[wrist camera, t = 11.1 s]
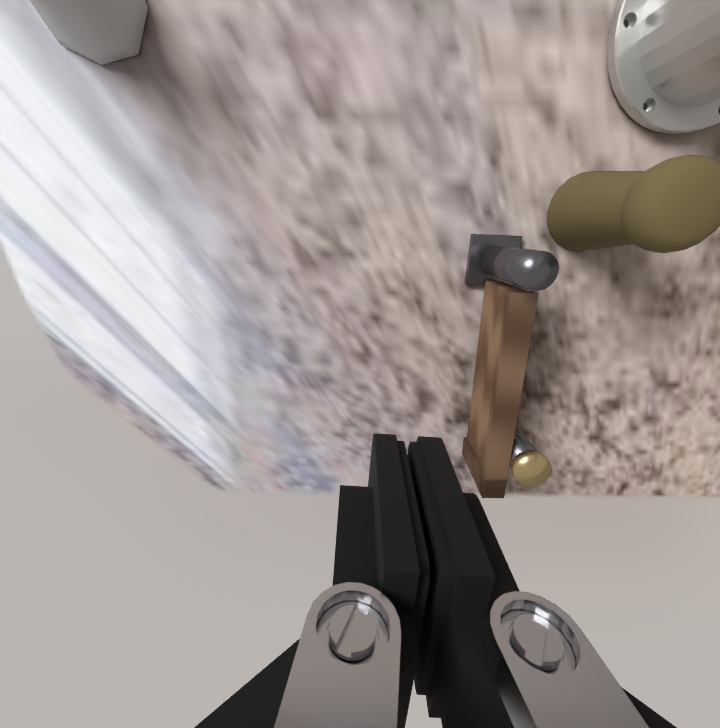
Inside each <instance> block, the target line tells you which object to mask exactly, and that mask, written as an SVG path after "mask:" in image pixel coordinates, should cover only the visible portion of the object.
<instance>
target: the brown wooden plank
mask: <svg viewBox="0 0 720 728" xmlns="http://www.w3.org/2000/svg"><path fill="white" fill-rule="evenodd" d="M537 298H538V293H536V292H533V291H526V290H524V289H521V288H518V287H516V286H513V285H510V284H507V283H505V282H502V281H486V283H485V291H484V299H483V308H482V316H481V325H480V333H479V341H478V350H477V358H476V366H475V375H474V383H473V391H472V400H471V408H470V416H469V425H468V433H467V438H464V441H463V449H462V455H463V457H464V459H465V461H466V463H467V466H468V468H469V470H470V472H471V474H472V477H473V479H474V481H475V483H476V485H477V488H478V490H479V492H480V494H481V496H482V498H504V495H505V489H506V483H507V477H508V471H509V465H510V459H511V453H512V447H513V441H514V435H515V429H516V423H517V417H518V412H519V406H520V400H521V394H522V388H523V382H524V376H525V370H526V364H527V358H528V352H529V346H530V340H531V334H532V328H533V322H534V316H535V310H536V304H537Z"/></svg>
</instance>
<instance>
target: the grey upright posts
mask: <svg viewBox="0 0 720 728" xmlns="http://www.w3.org/2000/svg"><path fill="white" fill-rule="evenodd" d="M521 240H522V236H507V235H483V234H471V239H470V247H469V254H468V262H467V270H466V277H465V283H466V284H482V285H485V283H486V281H502V282H505V283H507V284H510V285H514V284H515V285H518V286H521V287H524V288H527V289H529V290H533V291H539V290H543V289H545V288H547V287H548V286H550V285H551V284H552V283H553V282H554V280H555V279H556V277H557V274H558V270H559V266H558V262H557V259H556V258H555V257H554V256H553V255H552V254H551V253H549V252H545V251H537V250H529V249H521V248H520V245H521ZM519 407H520V406H519ZM510 469H511V473H512V474H513V476H514V477H515V479H516V481H517V482H518V483H519V484H521V485H523V486H526V487H534V486H538V485H540V484H542V483H544V482H545V481H546V480H547V479H548V478H549V476H550V474H551V464H550V462H549V461H548V460H547V458H546V457H545V456H544V455H543V454H542V453H541V452H539V451H537V450H536V449H535V448H534V446H533V445H532V444H531V443H530V441H529V440H528V439H527V438H526V436H525V435H524V434H523V433H522V431H521V430H520V429H519V428H518V426H517V425H516V429H515V435H514V441H513V447H512V453H511V459H510Z"/></svg>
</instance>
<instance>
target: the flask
mask: <svg viewBox="0 0 720 728" xmlns="http://www.w3.org/2000/svg"><path fill="white" fill-rule="evenodd" d="M30 2H31V3H32V4H33V6H34V7H35V9H36V10H37V12H38V13H39V15H40V16H41V17H42V19H43V20H44V22H45V23H46V25H47V26H48V28H49V29H50V31H51V32H52V34H53V35H54V36H55V38H56V39H57V40H58V42H59V43H60V45H62V46H64V47H66V48H68V49H70V50H72V51H74V52H76V53H78V54H80V55H82V56H84V57H86V58H88V59H90V60H92V61H94V62H96V63H98V64H100V65H103V64H107V63H110V62H114V61H117V60H121V59H124V58H128V57H131V56H135V55H138V54H139V50H140V45H141V40H142V35H143V31H144V26H145V21H146V16H147V11H148V7H147V4H146V1H145V0H30Z"/></svg>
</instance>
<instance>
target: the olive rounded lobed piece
mask: <svg viewBox="0 0 720 728" xmlns="http://www.w3.org/2000/svg"><path fill="white" fill-rule="evenodd" d="M547 225H548V228H549V232H550V235H551V236H552V238H553V239H554V240H555V242H556V243H557V244H558V245H560V246H562V247H563V248H565V249H567V250H572V251H582V250H590V249H597V248H604V247H612V246H619V245H626V244H633V243H634V244H635V245H637V246H638V247H640V248H642V249H644V250H648V251H653V252H660V253H667V252H675V251H680V250H684V249H687V248H689V247H692V246H694V245H696V244H698V243H700V242H701V241H703V240H704V239H705V238H707V237H708V236H709V235H711V234H712V233H713V232H715V231H716V230H717V228H718V227H719V226H720V164H719V163H718V162H716V161H715V160H714V159H711V158H707V157H702V156H696V155H688V156H681V157H675V158H671V159H668V160H666V161H664V162H662V163H659V164H657V165H655V166H653V167H652V168H650V169H648V170H647V171H592V172H585V173H580V174H578V175H576V176H574V177H572V178H570V179H568V180H567V181H566V182H565V183H564V184H563V185H562V186H561V187H559V189H558V190H557V192H556V193H555V195H554V196H553V198H552V200H551V203H550V206H549V209H548V215H547Z"/></svg>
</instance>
